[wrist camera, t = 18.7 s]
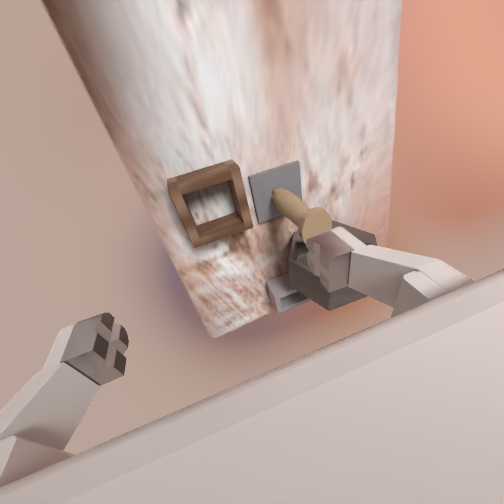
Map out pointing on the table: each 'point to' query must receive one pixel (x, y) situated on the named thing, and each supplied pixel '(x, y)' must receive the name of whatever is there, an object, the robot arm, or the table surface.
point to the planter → (310, 283)
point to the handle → (302, 214)
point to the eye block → (202, 180)
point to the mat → (271, 180)
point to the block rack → (284, 293)
